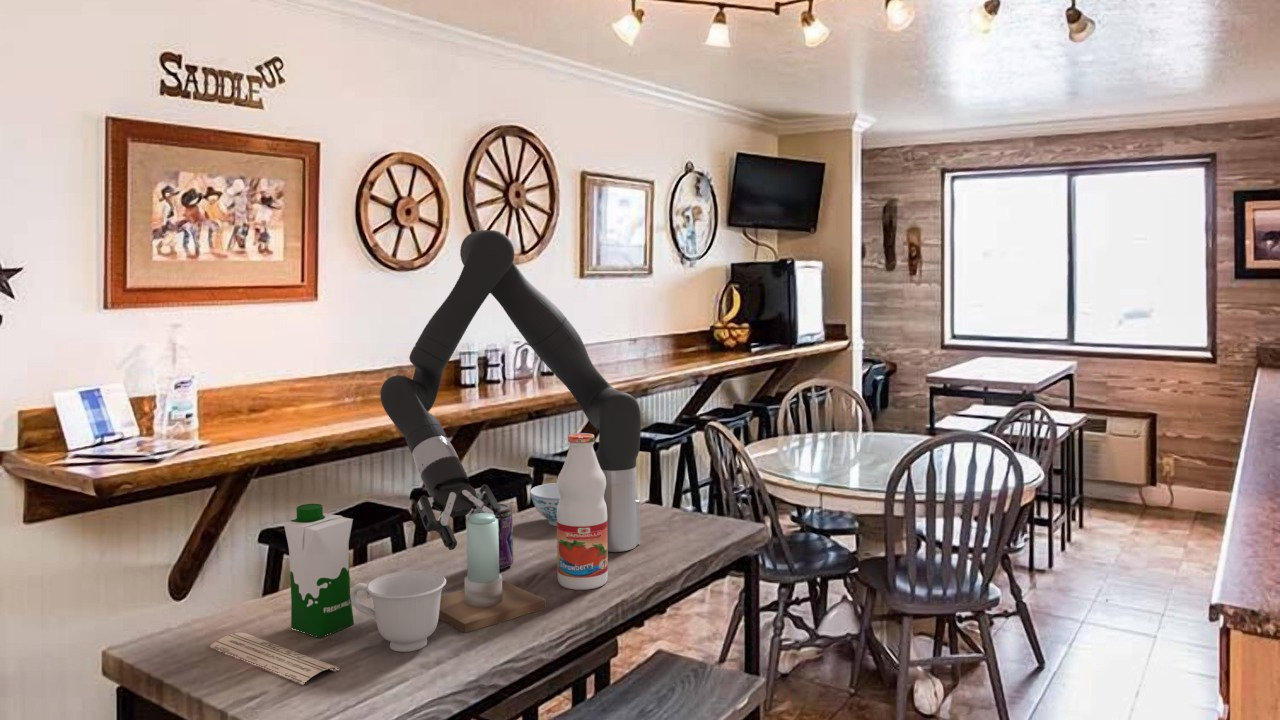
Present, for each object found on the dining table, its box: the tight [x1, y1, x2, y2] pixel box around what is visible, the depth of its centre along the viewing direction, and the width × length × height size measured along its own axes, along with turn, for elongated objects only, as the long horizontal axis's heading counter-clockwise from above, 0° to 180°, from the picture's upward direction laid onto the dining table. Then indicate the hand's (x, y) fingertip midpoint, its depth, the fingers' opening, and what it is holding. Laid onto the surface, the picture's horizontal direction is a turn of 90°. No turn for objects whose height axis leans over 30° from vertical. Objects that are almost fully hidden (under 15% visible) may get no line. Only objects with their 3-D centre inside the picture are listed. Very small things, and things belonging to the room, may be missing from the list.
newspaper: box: [210, 632, 340, 683], centre depth 139 cm, size 24×7×2 cm, turn 56°
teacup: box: [350, 570, 447, 653], centre depth 143 cm, size 12×15×10 cm
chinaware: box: [529, 482, 560, 527], centre depth 212 cm, size 15×15×8 cm
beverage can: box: [480, 502, 514, 571], centre depth 181 cm, size 7×7×12 cm
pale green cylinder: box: [465, 513, 500, 583], centre depth 158 cm, size 5×5×11 cm
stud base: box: [438, 573, 546, 634], centre depth 158 cm, size 16×14×6 cm
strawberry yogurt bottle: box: [556, 432, 609, 591], centre depth 170 cm, size 9×9×28 cm
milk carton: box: [283, 503, 355, 638], centre depth 150 cm, size 9×9×20 cm
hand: (475, 542), depth 159 cm, fingers open, 8 cm apart
